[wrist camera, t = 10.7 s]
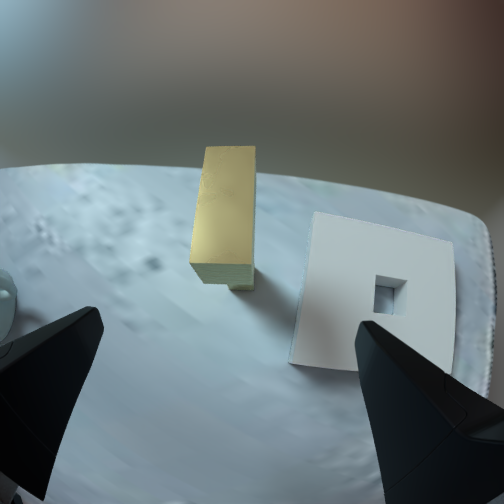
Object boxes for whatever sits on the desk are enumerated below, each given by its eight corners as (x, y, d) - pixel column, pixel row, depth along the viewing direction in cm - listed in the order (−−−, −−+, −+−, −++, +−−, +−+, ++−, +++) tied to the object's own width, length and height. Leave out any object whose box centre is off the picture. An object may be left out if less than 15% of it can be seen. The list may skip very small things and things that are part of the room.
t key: (255, 314, 22) (251, 264, 11) (225, 313, 22) (189, 262, 11) (257, 244, 24) (255, 145, 13) (229, 244, 24) (206, 146, 13)
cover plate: (435, 374, 19) (450, 373, 17) (288, 362, 20) (292, 363, 18) (439, 252, 23) (452, 242, 21) (309, 225, 24) (314, 211, 22)
